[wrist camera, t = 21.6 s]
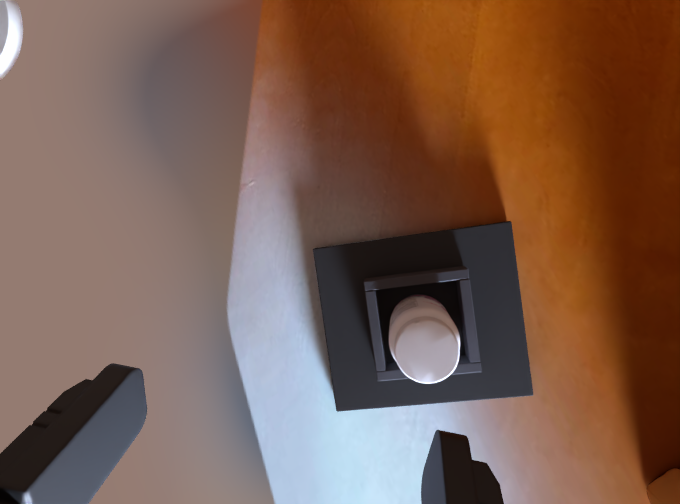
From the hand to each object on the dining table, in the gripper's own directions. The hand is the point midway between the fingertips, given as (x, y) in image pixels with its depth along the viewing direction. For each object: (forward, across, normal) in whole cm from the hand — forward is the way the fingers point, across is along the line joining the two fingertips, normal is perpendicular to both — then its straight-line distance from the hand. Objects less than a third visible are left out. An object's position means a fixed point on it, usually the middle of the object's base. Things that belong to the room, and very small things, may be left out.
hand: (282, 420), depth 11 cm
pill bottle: (+21, -6, +10) cm, 24 cm away
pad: (+22, -6, +10) cm, 25 cm away
